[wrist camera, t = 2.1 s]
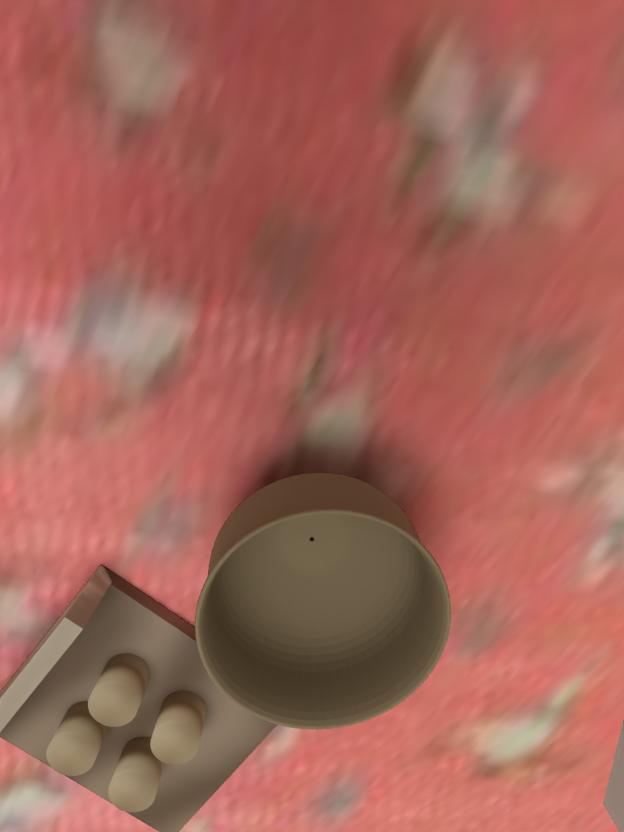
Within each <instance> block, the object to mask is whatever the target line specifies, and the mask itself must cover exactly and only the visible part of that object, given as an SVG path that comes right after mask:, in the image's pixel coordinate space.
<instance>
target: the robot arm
mask: <svg viewBox="0 0 624 832" xmlns="http://www.w3.org/2000/svg"><path fill="white" fill-rule="evenodd" d="M603 804H604V806H605V808H606V809H607V811H608V813H609V814H610V816H611V818H612V820H613V821H614V823H615V825H616V826H617V828H618V830H619V831H620V832H624V720H623V724H622V728H621V733H620V737H619V741H618V745H617V749H616V753H615V757H614V761H613V766H612V770H611V774H610V778H609V782H608V786H607V790H606V794H605V798H604V803H603Z"/></svg>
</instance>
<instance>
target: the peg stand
mask: <svg viewBox="0 0 624 832" xmlns="http://www.w3.org/2000/svg"><path fill="white" fill-rule="evenodd" d="M276 726H277V724H275V723H271V722H268V721H266V720H263V719H261V718H258V717H256V716H254V715H252V714H250V713H248V712H247V711H245V710H244V709H242V708H240V707H239V706H237V705H236V704H235V703H234V702H232V701H231V700H230V699H229V698H228V697H227V696H226V695H224V694H223V693H222V691H221V690H220V689H219V688H218V687H217V686H216V685H215V683H214V682H213V680H212V679H211V677H210V676H209V674H208V672H207V671H206V669H205V667H204V664H203V662H202V660H201V657H200V654H199V650H198V646H197V641H196V635H195V627H193V626H192V625H191V624H189V623H188V622H186V621H185V620H183V619H182V618H180V617H179V616H177V615H176V614H174V613H173V612H171V611H170V610H168V609H167V608H165V607H164V606H162V605H161V604H159V603H158V602H156V601H155V600H153V599H152V598H150V597H149V596H147V595H146V594H145V593H143V592H142V591H140V590H139V589H137V588H136V587H134V586H133V585H131V584H130V583H128V582H127V581H125V580H124V579H122V578H121V577H119V576H118V575H116V574H115V573H113V572H112V571H110V570H109V569H107V568H106V567H104V566H103V565H100V566H99V568H98V569H97V570H96V571H95V573H94V574H93V575H92V577H91V578H90V579H89V580H88V582H87V583H86V584H85V585H84V587H83V588H82V589H81V590H80V592H79V593H78V594H77V595H76V597H75V598H74V599H73V601H72V602H71V603H70V604H69V606H68V607H67V608H66V609H65V611H64V612H63V613H62V614H61V616H60V617H59V618H58V619H57V621H56V622H55V623H54V625H53V626H52V627H51V628H50V630H49V631H48V632H47V633H46V635H45V636H44V637H43V638H42V640H41V641H40V642H39V644H38V645H37V646H36V647H35V649H34V650H33V651H32V652H31V654H30V655H29V656H28V657H27V659H26V660H25V661H24V662H23V664H22V665H21V666H20V668H19V669H18V670H17V671H16V673H15V674H14V675H13V676H12V678H11V679H10V680H9V681H8V683H7V684H6V685H5V687H4V688H3V689H2V690H1V692H0V737H1V738H3V739H4V740H6V741H8V742H9V743H11V744H13V745H14V746H16V747H18V748H19V749H21V750H23V751H25V752H26V753H28V754H30V755H31V756H33V757H35V758H36V759H38V760H40V761H41V762H43V763H45V764H46V765H48V766H50V767H51V768H53V769H54V770H55V771H57V772H58V773H60V774H63V775H65V776H67V777H68V778H70V779H72V780H73V781H75V782H77V783H78V784H80V785H82V786H83V787H85V788H87V789H88V790H90V791H92V792H93V793H95V794H97V795H99V796H100V797H102V798H104V799H105V800H107V801H109V802H110V803H112V804H114V805H115V806H116V807H117V808H119V809H121V810H123V811H125V812H127V813H129V814H130V815H132V816H134V817H136V818H137V819H139V820H141V821H142V822H144V823H146V824H147V825H149V826H151V827H152V828H154V829H156V830H157V831H159V832H179V831H180V830H181V829H182V828H183V827H184V825H185V824H186V823H187V822H188V821H189V820H190V819H191V818H192V817H193V816H194V815H195V814H196V812H197V811H198V810H199V809H200V808H201V807H202V806H203V805H204V804H205V803H206V802H207V801H208V799H209V798H210V797H211V796H212V795H213V794H214V793H215V792H216V791H217V790H218V789H219V787H220V786H221V785H222V784H223V783H224V782H225V781H226V780H227V779H228V778H229V777H230V776H231V774H232V773H233V772H234V771H235V770H236V769H237V768H238V767H239V766H240V765H241V764H242V762H243V761H244V760H245V759H246V758H247V757H248V756H249V755H250V754H251V753H252V752H253V751H254V749H255V748H256V747H257V746H258V745H259V744H260V743H261V742H262V741H263V740H264V739H265V738H266V736H267V735H268V734H269V733H270V732H271V731H272V730H273V729H274V728H275V727H276Z"/></svg>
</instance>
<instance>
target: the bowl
mask: <svg viewBox="0 0 624 832" xmlns="http://www.w3.org/2000/svg"><path fill="white" fill-rule="evenodd" d="M450 621H451V605H450V596H449V592H448V587H447V584H446V581H445V578H444V576H443V573H442V571H441V569H440V567H439V565H438V564H437V562H436V561H435V559H434V558H433V556H432V555H431V554H430V553H429V551H428V550H427V549H426V548H425V546H423V545H422V544H421V542H420V540H419V537H418V535H417V533H416V531H415V529H414V527H413V525H412V523H411V522H410V520H409V519H408V517H407V516H406V514H405V513H404V512H403V510H402V509H401V508H400V507H399V506H398V505H397V504H396V503H395V502H394V501H393V500H392V499H391V498H390V497H388V496H387V495H386V494H385V493H383V492H382V491H380V490H379V489H377V488H376V487H374V486H372V485H370V484H368V483H366V482H364V481H361V480H359V479H356V478H353V477H349V476H346V475H340V474H334V473H307V474H300V475H295V476H290V477H287V478H283V479H281V480H278V481H275V482H273V483H271V484H269V485H267V486H265V487H263V488H261V489H259V490H258V491H256V492H255V493H253V494H252V495H251V496H249V497H248V498H247V499H245V500H244V501H243V502H242V503H241V504H240V505H239V506H238V507H237V508H236V509H235V510H234V511H233V512H232V514H231V515H230V516H229V518H228V519H227V521H226V522H225V523H224V525H223V527H222V528H221V530H220V532H219V534H218V536H217V538H216V541H215V543H214V546H213V550H212V553H211V558H210V563H209V570H208V577H207V579H206V581H205V583H204V586H203V588H202V590H201V593H200V596H199V600H198V604H197V609H196V617H195V635H196V641H197V646H198V650H199V654H200V657H201V660H202V662H203V664H204V667H205V669H206V671H207V672H208V674H209V676H210V677H211V679H212V680H213V682H214V683H215V685H216V686H217V687H218V688H219V689H220V690H221V691H222V693H223V694H224V695H226V696H227V697H228V698H229V699H230V700H231V701H232V702H234V703H235V704H236V705H237V706H239V707H240V708H242V709H244V710H245V711H247V712H248V713H250V714H252V715H254V716H256V717H258V718H261V719H263V720H266V721H268V722H271V723H275V724H278V725H282V726H287V727H291V728H300V729H330V728H339V727H344V726H349V725H353V724H357V723H360V722H363V721H366V720H369V719H371V718H374V717H376V716H378V715H380V714H382V713H384V712H386V711H388V710H390V709H392V708H393V707H395V706H396V705H398V704H399V703H401V702H402V701H404V700H405V699H406V698H407V697H409V696H410V695H411V694H412V693H413V692H414V691H415V690H416V689H417V688H418V687H419V686H420V685H421V684H422V683H423V682H424V681H425V680H426V679H427V677H428V676H429V675H430V673H431V672H432V670H433V669H434V667H435V666H436V664H437V662H438V661H439V659H440V657H441V654H442V652H443V650H444V647H445V644H446V642H447V638H448V634H449V629H450Z"/></svg>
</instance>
